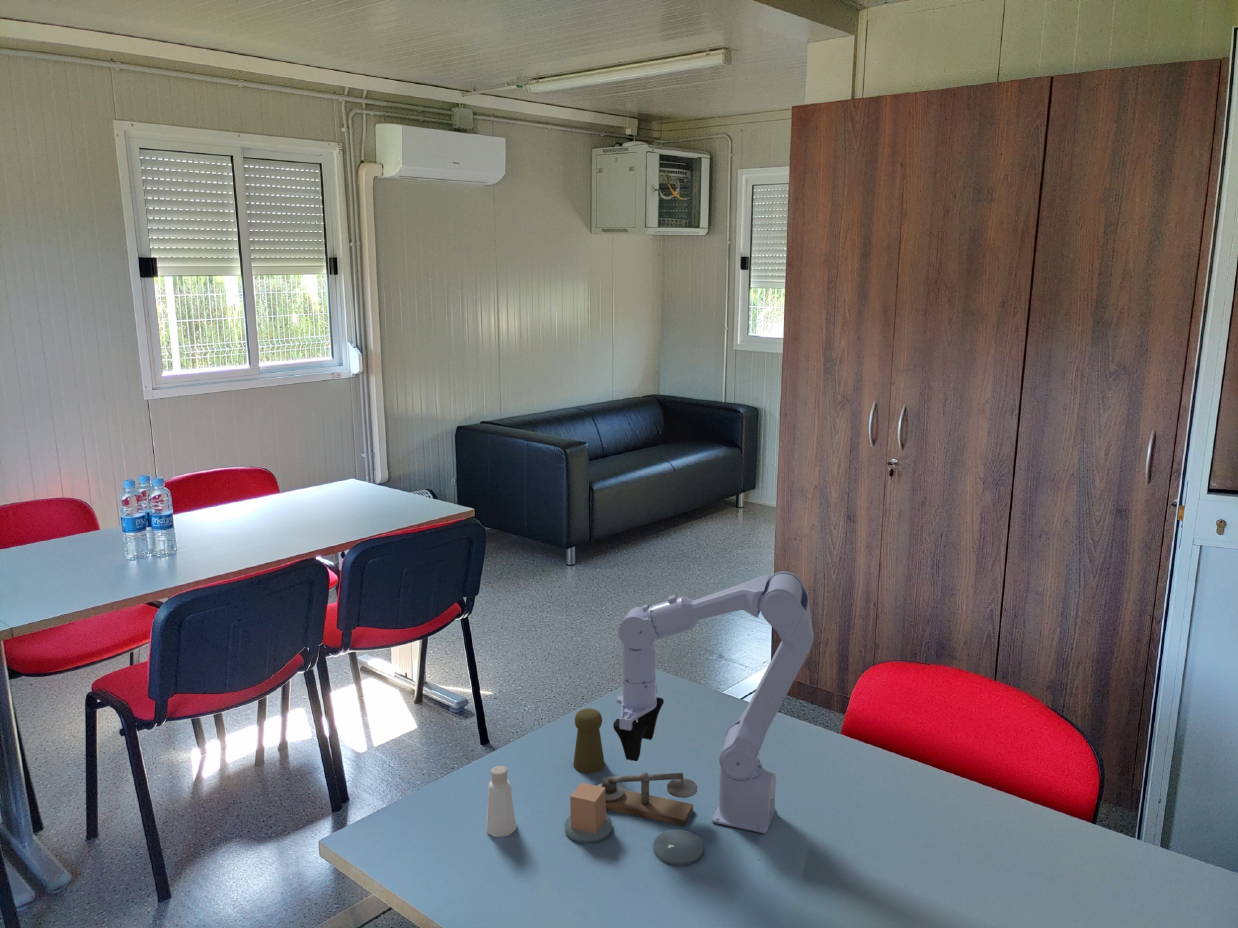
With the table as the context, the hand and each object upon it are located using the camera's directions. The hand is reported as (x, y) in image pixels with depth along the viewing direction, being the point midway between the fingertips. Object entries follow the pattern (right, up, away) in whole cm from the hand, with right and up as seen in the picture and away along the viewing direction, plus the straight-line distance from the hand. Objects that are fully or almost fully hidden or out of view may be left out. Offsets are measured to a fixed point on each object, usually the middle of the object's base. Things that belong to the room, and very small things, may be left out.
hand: (639, 748), depth 163 cm
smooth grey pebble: (+6, -13, -12) cm, 18 cm away
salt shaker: (-24, -12, -5) cm, 27 cm away
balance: (+1, -11, 0) cm, 11 cm away
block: (-9, -11, -6) cm, 15 cm away
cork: (-9, -8, +14) cm, 19 cm away
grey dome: (-9, -12, -6) cm, 16 cm away
